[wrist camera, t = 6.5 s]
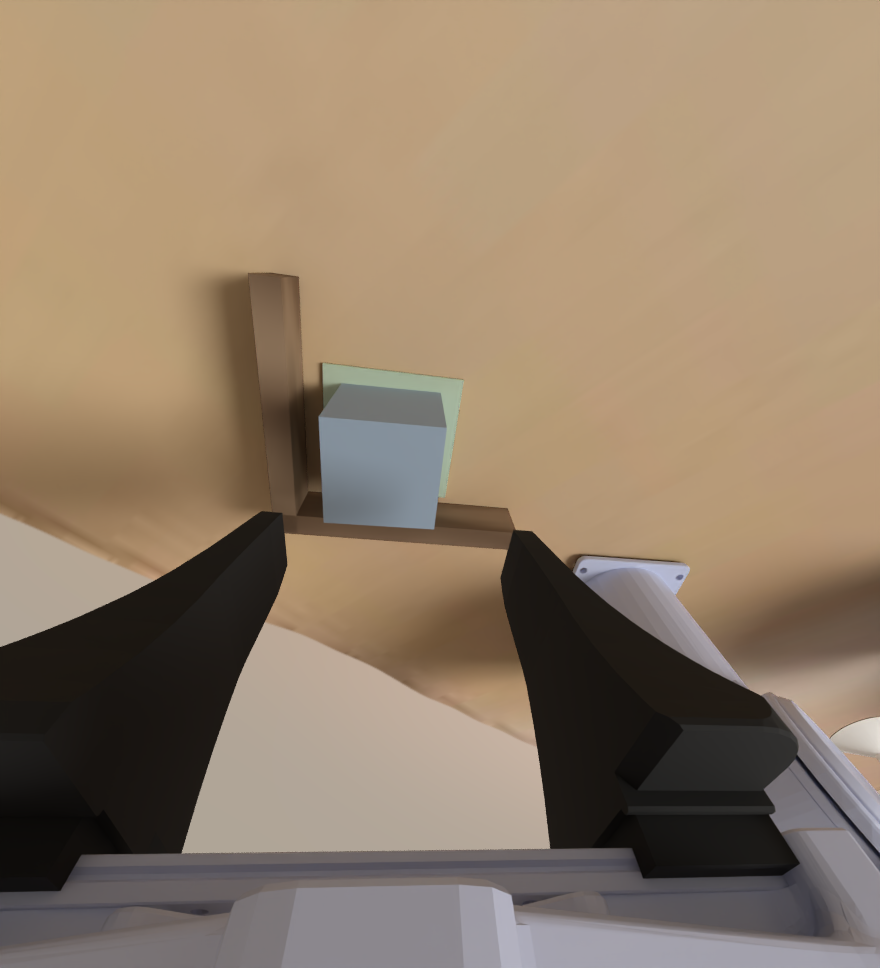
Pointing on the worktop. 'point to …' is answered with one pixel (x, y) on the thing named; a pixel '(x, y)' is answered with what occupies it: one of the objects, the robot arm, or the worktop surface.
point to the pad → (402, 380)
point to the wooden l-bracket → (287, 437)
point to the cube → (381, 456)
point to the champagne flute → (860, 738)
